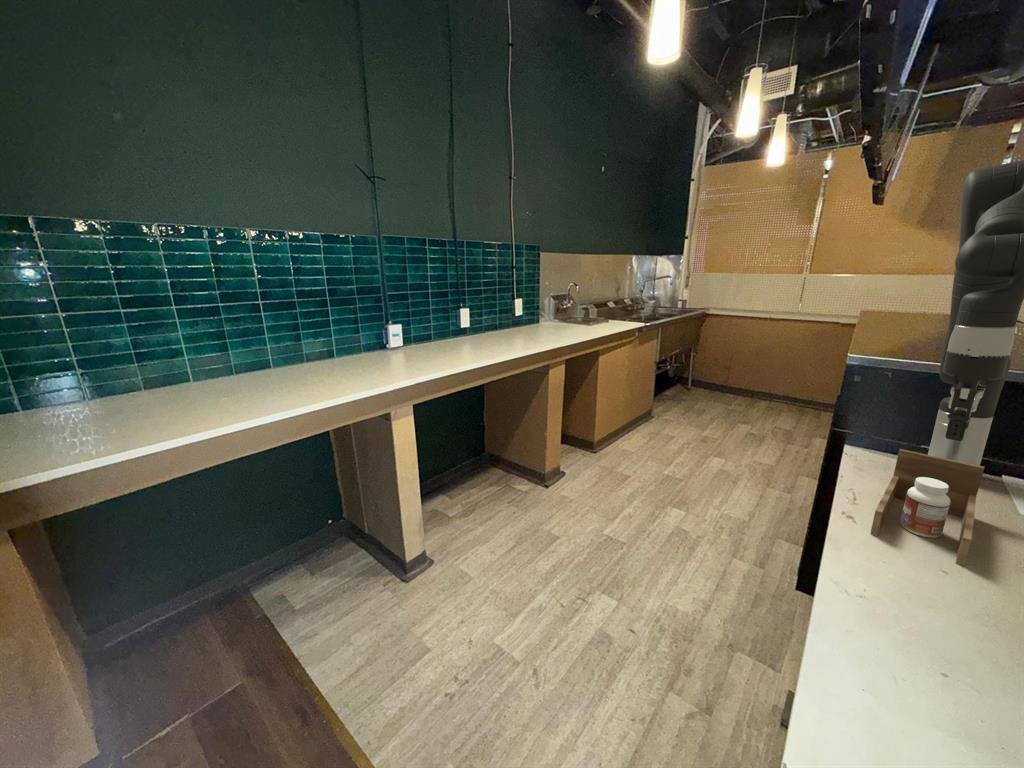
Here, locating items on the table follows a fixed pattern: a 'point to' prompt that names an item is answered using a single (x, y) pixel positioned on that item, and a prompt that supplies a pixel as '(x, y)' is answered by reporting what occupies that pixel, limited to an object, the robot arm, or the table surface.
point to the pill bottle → (926, 507)
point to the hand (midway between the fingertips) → (956, 433)
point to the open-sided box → (951, 472)
